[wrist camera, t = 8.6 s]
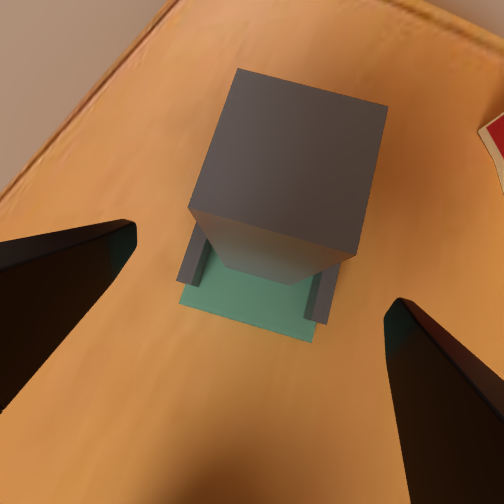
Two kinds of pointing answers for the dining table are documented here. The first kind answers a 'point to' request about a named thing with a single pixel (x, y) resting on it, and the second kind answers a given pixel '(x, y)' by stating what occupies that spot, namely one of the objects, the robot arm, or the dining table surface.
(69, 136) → the dining table surface
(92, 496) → the dining table surface
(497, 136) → the milk carton
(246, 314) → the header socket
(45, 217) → the dining table surface
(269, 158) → the block
